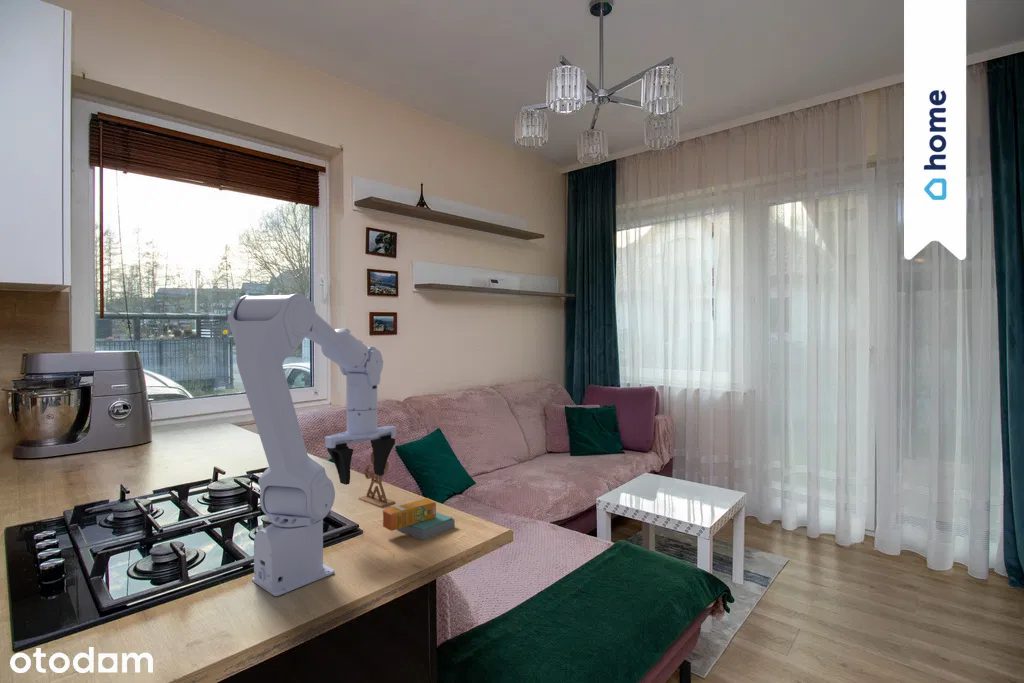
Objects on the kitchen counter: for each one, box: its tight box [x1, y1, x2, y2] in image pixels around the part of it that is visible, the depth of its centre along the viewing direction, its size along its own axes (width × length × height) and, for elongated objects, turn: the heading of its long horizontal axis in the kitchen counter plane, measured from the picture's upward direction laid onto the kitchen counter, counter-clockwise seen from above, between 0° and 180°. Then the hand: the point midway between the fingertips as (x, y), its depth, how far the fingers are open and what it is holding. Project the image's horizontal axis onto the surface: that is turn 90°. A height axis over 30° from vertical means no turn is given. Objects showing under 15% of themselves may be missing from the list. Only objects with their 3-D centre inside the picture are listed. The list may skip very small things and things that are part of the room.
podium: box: [396, 511, 456, 541], centre depth 97 cm, size 8×8×2 cm
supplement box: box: [382, 497, 437, 532], centre depth 95 cm, size 3×3×10 cm
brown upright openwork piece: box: [358, 451, 396, 509], centre depth 112 cm, size 9×4×12 cm, turn 51°
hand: (362, 478), depth 96 cm, fingers open, 7 cm apart
